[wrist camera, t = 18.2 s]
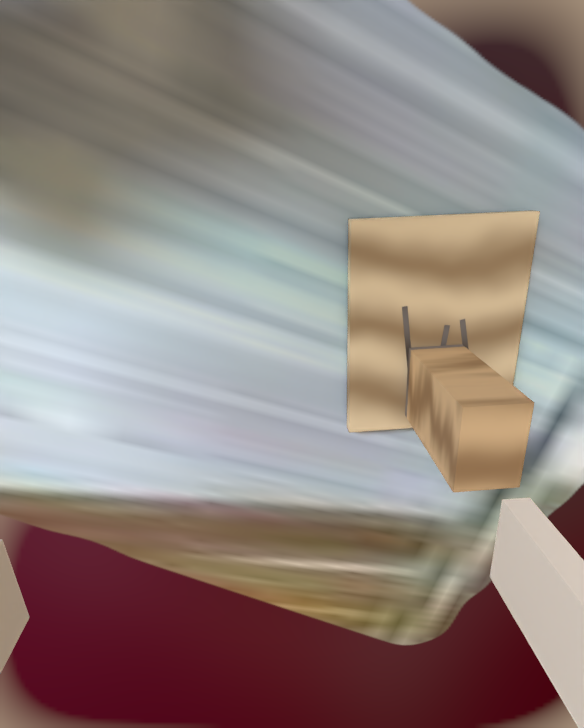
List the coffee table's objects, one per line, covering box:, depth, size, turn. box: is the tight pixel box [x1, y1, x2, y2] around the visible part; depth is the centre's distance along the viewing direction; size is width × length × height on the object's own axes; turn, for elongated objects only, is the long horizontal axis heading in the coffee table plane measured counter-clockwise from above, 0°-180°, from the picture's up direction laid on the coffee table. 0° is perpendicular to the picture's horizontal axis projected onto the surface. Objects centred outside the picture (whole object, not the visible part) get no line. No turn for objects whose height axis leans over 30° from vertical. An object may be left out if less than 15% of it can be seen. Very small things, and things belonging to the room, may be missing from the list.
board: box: [347, 211, 540, 432], centre depth 43 cm, size 20×16×1 cm
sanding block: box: [405, 344, 534, 492], centre depth 38 cm, size 7×5×12 cm
